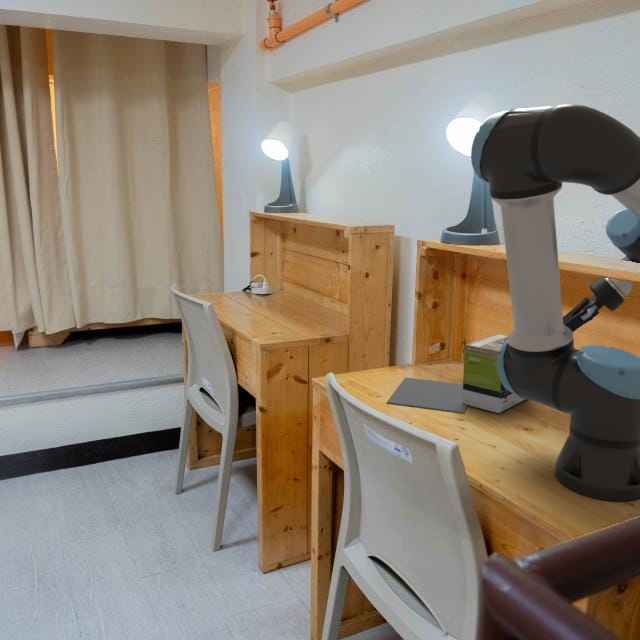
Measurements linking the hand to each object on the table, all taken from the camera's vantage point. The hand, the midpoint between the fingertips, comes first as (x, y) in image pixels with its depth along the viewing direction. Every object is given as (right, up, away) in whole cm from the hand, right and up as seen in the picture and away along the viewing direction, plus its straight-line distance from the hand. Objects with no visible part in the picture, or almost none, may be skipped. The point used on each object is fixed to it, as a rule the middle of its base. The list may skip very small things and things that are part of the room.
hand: (529, 354), depth 145 cm
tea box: (-7, -12, +4) cm, 14 cm away
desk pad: (-21, -10, +9) cm, 25 cm away
